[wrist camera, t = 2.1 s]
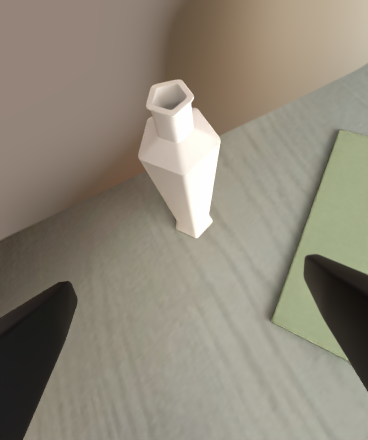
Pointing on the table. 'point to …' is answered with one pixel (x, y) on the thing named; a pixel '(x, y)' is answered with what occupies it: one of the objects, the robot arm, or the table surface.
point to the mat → (329, 238)
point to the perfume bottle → (180, 155)
